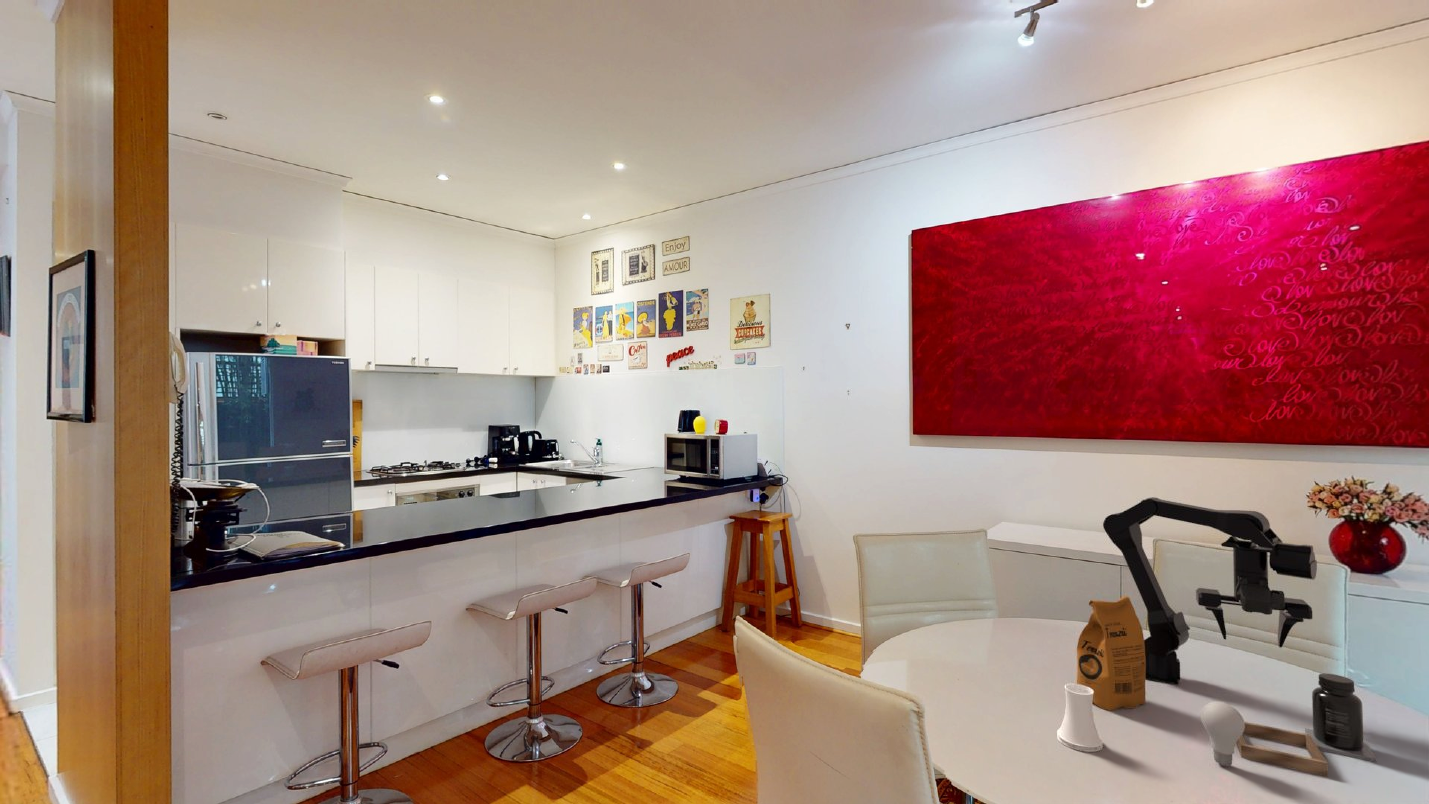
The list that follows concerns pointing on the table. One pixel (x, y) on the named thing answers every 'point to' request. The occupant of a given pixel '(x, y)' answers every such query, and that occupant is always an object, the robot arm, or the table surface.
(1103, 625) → the coffee package
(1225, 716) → the lightbulb
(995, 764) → the table surface
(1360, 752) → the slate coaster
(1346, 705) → the supplement bottle
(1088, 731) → the vase
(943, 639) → the table surface
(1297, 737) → the wooden square frame
